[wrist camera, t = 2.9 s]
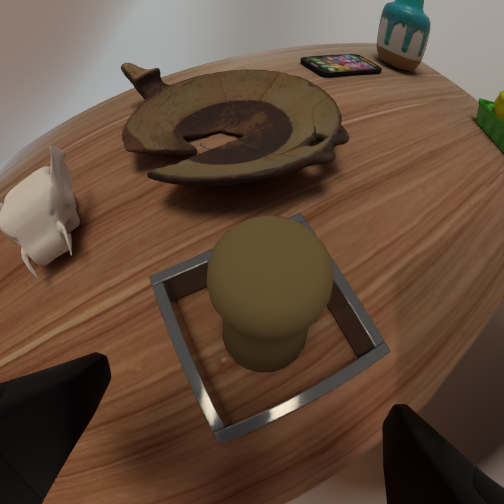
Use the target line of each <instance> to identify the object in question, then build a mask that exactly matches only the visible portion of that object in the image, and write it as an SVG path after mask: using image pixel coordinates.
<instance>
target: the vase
mask: <svg viewBox="0 0 504 504" xmlns="http://www.w3.org/2000/svg"><path fill="white" fill-rule="evenodd" d="M423 4H424V0H395V1H394V2H391V3H387V4H386V5H385V7H384V9H383V12H382V15H381V20H380V24H379V30H378V37H377V52H378V54H379V56H380V58H381V59H382V60H383V61H384V62H386V63H387V64H389V65H391V66H393V67H396V68H399V69H402V70H413V69H415V68H416V67H417V66H418V65H419V64H420V62H421V60H422V58H423V55H424V52H425V49H426V45H427V42H428V38H429V32H430V20H429V18H428V17H427V16H426V15H425V13H424V11H423Z"/></svg>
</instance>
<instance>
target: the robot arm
mask: <svg viewBox="0 0 504 504" xmlns="http://www.w3.org/2000/svg"><path fill="white" fill-rule="evenodd" d="M110 380H111V371H110V366H109V362H108V358H107V356H105V355H103V354H100V353H97V352H95V353H92V354H89V355H86V356H83V357H80V358H77V359H74V360H71V361H68V362H65V363H62V364H59V365H56V366H53V367H50V368H47V369H44V370H41V371H38V372H35V373H32V374H29V375H25V376H22V377H19V378H16V379H13V380H9V382H8V381H6V382H2V383H0V504H42V502H43V501H44V500H43V499H44V498H45V497H46V495H47V493H48V491H49V489H50V488H51V486H52V484H53V482H54V481H55V479H56V477H57V475H58V474H59V472H60V470H61V468H62V467H63V465H64V463H65V462H66V460H67V458H68V457H69V455H70V453H71V451H72V450H73V448H74V446H75V445H76V443H77V442H78V440H79V438H80V437H81V435H82V433H83V432H84V430H85V429H86V427H87V425H88V424H89V422H90V420H91V419H92V417H93V415H94V414H95V412H96V410H97V408H98V405H99V403H100V401H101V399H102V397H103V395H104V393H105V391H106V389H107V387H108V385H109V383H110ZM382 432H383V467H384V478H385V487H386V497H387V504H504V488H503V487H502V486H500V485H499V484H498V483H496V482H495V481H493V480H492V479H491V478H490V477H488V476H487V475H486V474H485V473H483V472H482V471H481V470H480V469H479V468H478V467H477V466H474V464H473V463H472V462H471V461H470V460H468V459H467V458H466V457H465V456H464V455H463V454H461V453H460V452H459V451H458V450H457V449H456V448H455V447H454V446H452V445H451V444H450V443H449V442H448V441H447V440H446V439H445V438H444V437H442V436H441V435H440V434H439V433H438V432H437V431H436V430H435V429H433V428H432V427H431V426H430V425H429V424H428V423H427V422H426V421H424V420H423V419H422V418H421V417H420V416H419V415H418V414H417V413H416V412H414V411H413V410H412V409H411V408H410V407H409V406H408V405H406V404H396V405H394V406H393V407H392V408H391V410H390V412H389V413H388V415H387V417H386V418H385V420H384V422H383V426H382Z"/></svg>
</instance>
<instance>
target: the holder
mask: <svg viewBox="0 0 504 504" xmlns="http://www.w3.org/2000/svg"><path fill="white" fill-rule="evenodd" d="M289 219H293V220H295V221H297V222H299V223H301V224H302V225H304V226H306V227H308V228H309V229H310V230H311V231H312V232H313V230H312V229H311V227H310V226H309V225H308V223H307V222H306V221H305V219H304V217H303V216H302V215H301V213H299V214H297V215H294V216H292V217H289ZM313 233H314V232H313ZM314 234H315V233H314ZM315 235H316V234H315ZM213 250H214V249H212V250H210V251H207V252H205V253H202V254H200V255H198V256H195V257H193V258H191V259H188V260H186V261H184V262H181V263H179V264H177V265H174V266H172V267H170V268H167V269H165V270H163V271H161V272H158V273H156V274H154V275H151V276H150V277H149V278H150V281H151V284H152V286H153V290H154V293H155V296H156V299H157V302H158V305H159V308H160V311H161V314H162V316H163V319H164V322H165V325H166V327H167V330H168V333H169V335H170V338H171V340H172V343H173V346H174V348H175V351H176V353H177V356H178V358H179V360H180V363H181V365H182V368H183V370H184V372H185V375H186V377H187V379H188V382H189V384H190V386H191V388H192V391H193V393H194V395H195V397H196V399H197V401H198V404H199V406H200V408H201V410H202V412H203V414H204V416H205V418H206V420H207V422H208V424H209V426H210V428H211V430H212V432H214V433H213V434H214V436H215V438H216V440H217V442H218V443H219V444H221V443H224V442H227V441H229V440H232V439H234V438H237V437H239V436H242V435H244V434H246V433H249V432H251V431H253V430H256V429H258V428H260V427H262V426H265V425H267V424H269V423H271V422H273V421H275V420H277V419H279V418H281V417H283V416H285V415H287V414H289V413H291V412H293V411H295V410H297V409H299V408H301V407H303V406H305V405H307V404H309V403H310V402H312V401H314V400H316V399H318V398H319V397H321V396H323V395H325V394H326V393H328V392H330V391H331V390H333V389H335V388H337V387H338V386H340V385H341V384H343V383H345V382H346V381H348V380H350V379H351V378H353V377H354V376H356V375H357V374H359V373H360V372H362V371H363V370H365V369H366V368H368V367H369V366H371V365H372V364H374V363H375V362H377V361H378V360H380V359H381V358H382V357H384V356H385V355H387V354H388V353H389V352H390V350H389V348H388V346H387V345H386V343H385V342H384V340H383V338H382V336H381V335H380V333H379V331H378V330H377V328H376V326H375V325H374V323H373V321H372V320H371V318H370V316H369V315H368V313H367V312H366V310H365V308H364V307H363V305H362V304H361V302H360V300H359V299H358V297H357V296H356V294H355V293H354V291H353V290H352V288H351V286H350V285H349V283H348V282H347V280H346V279H345V277H344V276H343V274H342V273H341V271H340V270H339V268H338V267H337V265H336V264H335V262H334V261H333V259H332V258H331V262H332V268H333V275H334V282H333V287H332V292H331V297H330V300H329V302H328V304H327V306H328V307H329V309H330V311H331V312H332V314H333V316H334V317H335V319H336V321H337V322H338V324H339V326H340V327H341V329H342V331H343V332H344V334H345V336H346V337H347V339H348V341H349V343H350V344H351V346H352V348H353V349H354V351H355V353H356V355H357V356H358V357H357V358H355V359H354V360H352V361H350V362H349V363H347V364H346V365H344V366H342V367H341V368H339V369H337V370H336V371H334V372H332V373H331V374H329V375H327V376H326V377H324V378H322V379H320V380H319V381H317V382H315V383H313V384H311V385H310V386H308V387H306V388H304V389H302V390H300V391H298V392H296V393H295V394H293V395H291V396H289V397H287V398H285V399H283V400H281V401H279V402H277V403H275V404H273V405H270V406H268V407H266V408H264V409H262V410H260V411H258V412H255V413H253V414H251V415H249V416H246V417H244V418H242V419H239V420H237V421H235V422H232V423H230V421H229V419H228V417H227V415H226V413H225V411H224V409H223V407H222V405H221V403H220V401H219V399H218V396H217V394H216V392H215V390H214V388H213V386H212V384H211V382H210V380H209V377H208V375H207V373H206V371H205V369H204V366H203V364H202V362H201V360H200V357H199V355H198V353H197V351H196V348H195V346H194V344H193V341H192V339H191V337H190V334H189V332H188V329H187V327H186V324H185V322H184V319H183V317H182V314H181V312H180V309H179V307H178V304H177V302H176V299H179V298H181V297H183V296H186V295H188V294H190V293H193V292H195V291H197V290H199V289H202V288H204V287H206V286H207V270H208V262H209V259H210V256H211V254H212V252H213ZM330 257H331V256H330Z"/></svg>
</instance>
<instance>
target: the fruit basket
mask: <svg viewBox="0 0 504 504" xmlns="http://www.w3.org/2000/svg"><path fill="white" fill-rule="evenodd" d="M476 123H477V124H478V125H479V126H480V127H481V128H483V130H484V131H485V132H486V133H487V135H488V136H489V137H491V139H492V140H493V141H494V143H495V144H496V145H497V146H498V147H499V148H500V150H501V151H502V152H503V153H504V91H502V92H500V94H499V96H498V98H497V99H496V100H495V103H494V102H491V101H488V100H484V99H480V98H479V107H478V113H477V119H476Z"/></svg>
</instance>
